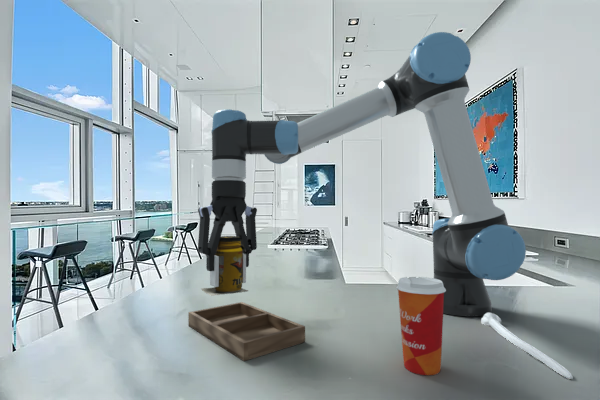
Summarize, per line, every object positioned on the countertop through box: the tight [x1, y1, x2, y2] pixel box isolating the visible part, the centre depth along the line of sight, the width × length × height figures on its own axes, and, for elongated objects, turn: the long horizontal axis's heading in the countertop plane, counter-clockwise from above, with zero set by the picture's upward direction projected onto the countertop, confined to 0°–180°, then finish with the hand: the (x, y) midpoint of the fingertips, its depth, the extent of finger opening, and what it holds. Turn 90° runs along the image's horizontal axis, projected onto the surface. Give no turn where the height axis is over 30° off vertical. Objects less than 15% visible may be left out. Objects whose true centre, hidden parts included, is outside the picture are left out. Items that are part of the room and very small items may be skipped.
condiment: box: [201, 235, 249, 297], centre depth 78 cm, size 7×8×12 cm
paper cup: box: [395, 276, 446, 376], centre depth 57 cm, size 8×8×14 cm
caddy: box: [187, 301, 306, 362], centre depth 73 cm, size 24×14×3 cm, turn 39°
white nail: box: [480, 312, 574, 380], centre depth 66 cm, size 28×4×3 cm, turn 177°
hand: (228, 283), depth 78 cm, fingers closed on condiment, 6 cm apart
